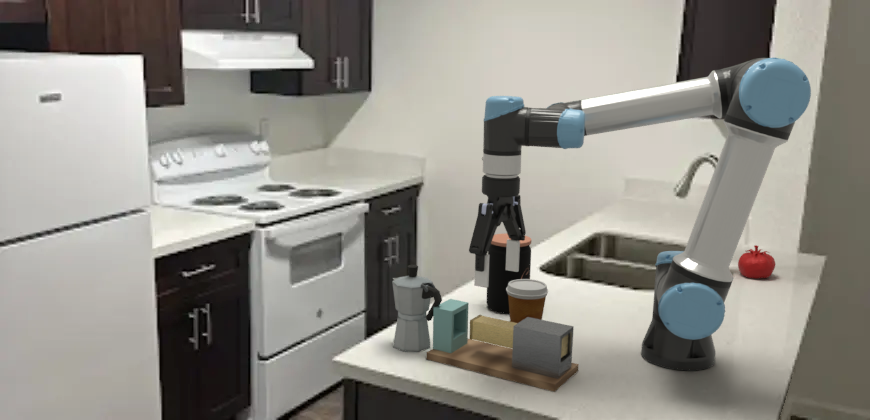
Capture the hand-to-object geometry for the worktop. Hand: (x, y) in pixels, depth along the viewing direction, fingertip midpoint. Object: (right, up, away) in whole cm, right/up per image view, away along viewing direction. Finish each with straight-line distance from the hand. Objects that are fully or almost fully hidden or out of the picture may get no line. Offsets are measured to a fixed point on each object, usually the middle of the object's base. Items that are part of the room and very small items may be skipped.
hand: (497, 278), depth 165 cm
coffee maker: (-17, -16, +13) cm, 27 cm away
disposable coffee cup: (+8, -15, +21) cm, 27 cm away
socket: (-9, -15, +9) cm, 20 cm away
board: (+1, -18, +3) cm, 18 cm away
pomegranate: (+81, -6, +71) cm, 108 cm away
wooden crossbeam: (+4, -14, 0) cm, 14 cm away
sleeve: (+9, -18, -2) cm, 20 cm away
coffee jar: (+6, -11, +39) cm, 41 cm away
